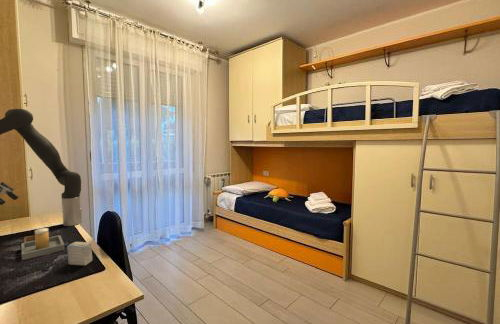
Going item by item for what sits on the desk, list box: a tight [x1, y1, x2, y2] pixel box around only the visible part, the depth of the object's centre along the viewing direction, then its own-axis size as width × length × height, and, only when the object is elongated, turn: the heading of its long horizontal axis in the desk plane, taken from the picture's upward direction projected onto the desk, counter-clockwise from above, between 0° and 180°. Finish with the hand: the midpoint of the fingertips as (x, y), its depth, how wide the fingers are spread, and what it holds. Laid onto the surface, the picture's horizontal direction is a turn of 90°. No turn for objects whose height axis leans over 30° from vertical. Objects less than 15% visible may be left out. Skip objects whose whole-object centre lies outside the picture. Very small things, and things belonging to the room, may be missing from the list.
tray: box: [20, 234, 65, 261], centre depth 117 cm, size 15×15×3 cm
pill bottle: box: [34, 227, 50, 250], centre depth 117 cm, size 5×5×9 cm
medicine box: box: [66, 241, 93, 266], centre depth 105 cm, size 8×4×9 cm, turn 84°
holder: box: [23, 234, 35, 243], centre depth 126 cm, size 9×9×2 cm
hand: (10, 201), depth 112 cm, fingers open, 8 cm apart
